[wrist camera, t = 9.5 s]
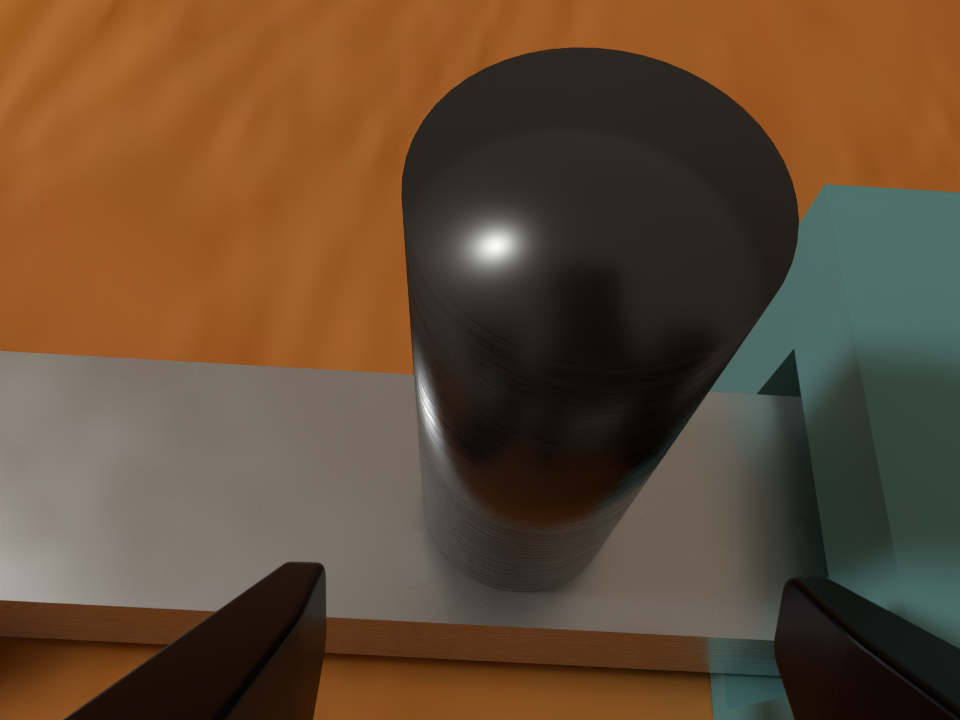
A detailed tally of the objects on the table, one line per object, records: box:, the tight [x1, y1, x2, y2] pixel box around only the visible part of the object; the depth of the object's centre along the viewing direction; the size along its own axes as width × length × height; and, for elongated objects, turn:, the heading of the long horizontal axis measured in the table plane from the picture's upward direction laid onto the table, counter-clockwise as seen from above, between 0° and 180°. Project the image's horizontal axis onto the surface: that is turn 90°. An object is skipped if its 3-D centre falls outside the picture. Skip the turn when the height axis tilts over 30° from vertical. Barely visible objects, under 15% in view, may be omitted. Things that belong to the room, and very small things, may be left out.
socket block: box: [709, 184, 960, 720], centre depth 14 cm, size 5×9×8 cm, turn 178°
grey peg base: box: [0, 48, 829, 676], centre depth 11 cm, size 25×4×12 cm, turn 88°
